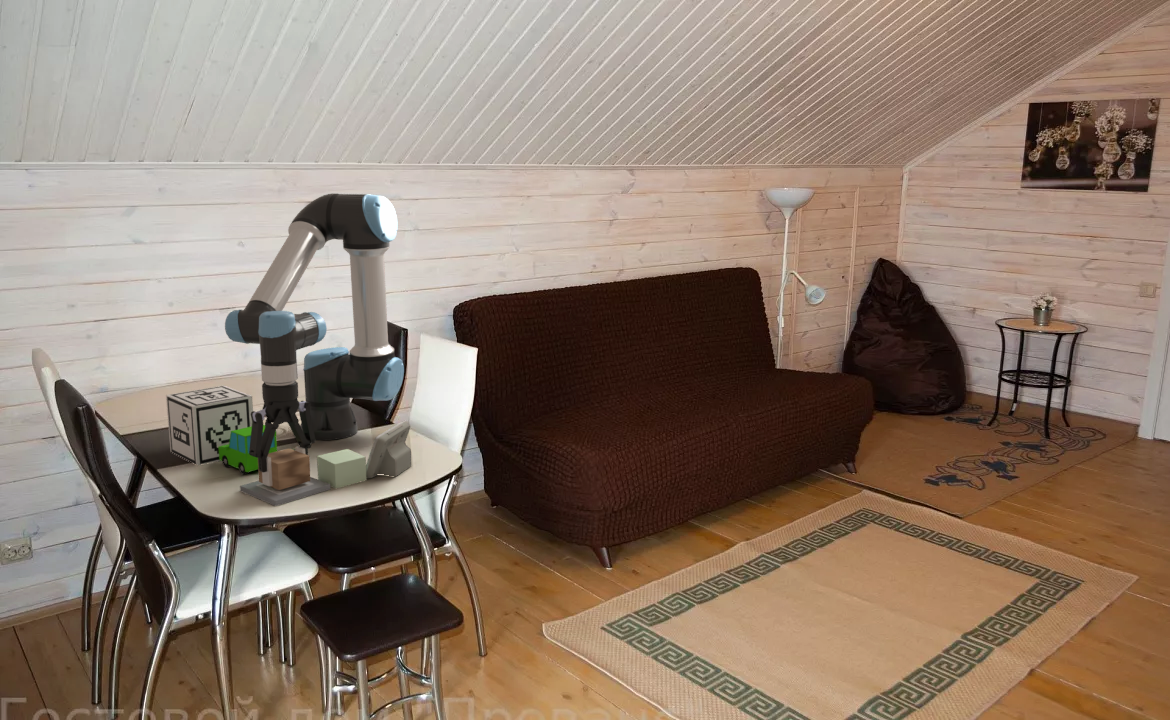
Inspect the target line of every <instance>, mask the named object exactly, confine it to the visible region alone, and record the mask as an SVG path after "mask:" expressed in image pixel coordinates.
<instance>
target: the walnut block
mask: <svg viewBox="0 0 1170 720" xmlns="http://www.w3.org/2000/svg"><path fill="white" fill-rule="evenodd" d="M268 457H271V467H272V486H271V487H273V488H275V489H278V490H281V489H285V488H288V487H292V486H295V485H299V484H302V483H306V482H309V481H310V477H311V465H310V464H311V463H310V462H311V461H310V455H309V454H308V455H306V454H303V453H300V452H297V451H296V450H294V449H292V448H285V449H281V450H277V451H276V452H272V453H269V454H268ZM257 470H258V481H259V482H261V483H263V481H262V472H261V471H259V465H258V469H257Z"/></svg>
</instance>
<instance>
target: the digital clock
mask: <svg viewBox="0 0 1170 720" xmlns="http://www.w3.org/2000/svg"><path fill="white" fill-rule="evenodd" d="M410 430H411V424H410V422H409V421H407V420H404V421H400V422H398V423H396V424H395V425H393V426H391V427H390V428H389V429H387V430H385V431H384V432H382V433H380V434H378V435H377V436H376V437H375V438H374V441H373V443H372V446H371V448H370V449H371V450H370V452H369V455H368V458H367V460H366V479H372V478H375V477H376V476H378V475H377V474H384V475H389V476H396V477H398V476H399V475H400V474H402V473H403V472H405V471H406V470H407V469H409V468H410V467H412V466H413V465H412V449H411V448H410V447H409V446H408V445H407V443H406V441H407V438H408V435H409V432H410ZM404 470H405V471H404ZM401 472H402V473H401ZM397 475H398V476H397Z"/></svg>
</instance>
